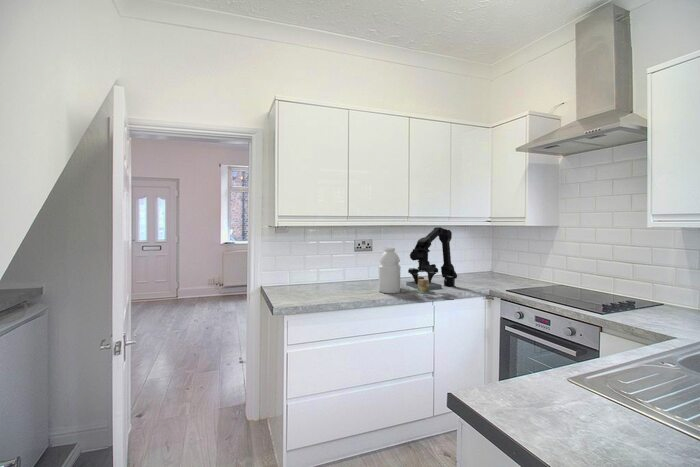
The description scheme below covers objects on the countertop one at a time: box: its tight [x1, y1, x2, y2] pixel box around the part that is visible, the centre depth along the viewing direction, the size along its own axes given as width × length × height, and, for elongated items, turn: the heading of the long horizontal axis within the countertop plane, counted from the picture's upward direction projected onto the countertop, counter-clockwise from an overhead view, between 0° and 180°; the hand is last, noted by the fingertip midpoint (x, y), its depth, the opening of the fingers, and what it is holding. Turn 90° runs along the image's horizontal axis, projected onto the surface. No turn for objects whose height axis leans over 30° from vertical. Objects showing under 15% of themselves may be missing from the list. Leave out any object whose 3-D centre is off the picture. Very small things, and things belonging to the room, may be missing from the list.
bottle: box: [378, 247, 401, 294], centre depth 215 cm, size 14×14×28 cm
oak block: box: [417, 278, 430, 292], centre depth 212 cm, size 5×5×7 cm
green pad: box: [412, 289, 436, 295], centre depth 212 cm, size 10×10×1 cm
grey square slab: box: [406, 280, 443, 290], centre depth 229 cm, size 16×18×3 cm
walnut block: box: [413, 275, 425, 285], centre depth 234 cm, size 5×5×6 cm
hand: (423, 284), depth 212 cm, fingers open, 9 cm apart
